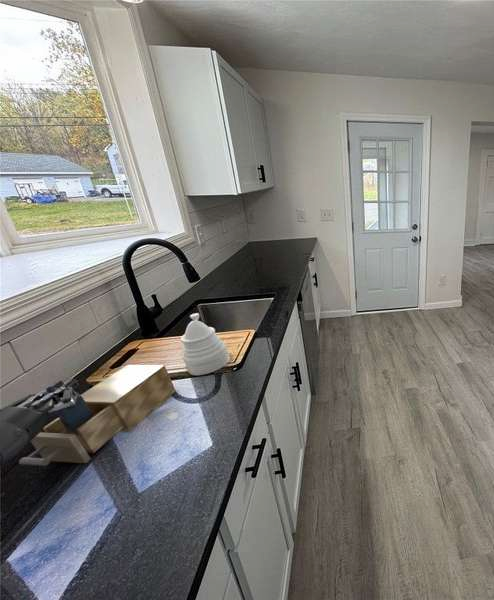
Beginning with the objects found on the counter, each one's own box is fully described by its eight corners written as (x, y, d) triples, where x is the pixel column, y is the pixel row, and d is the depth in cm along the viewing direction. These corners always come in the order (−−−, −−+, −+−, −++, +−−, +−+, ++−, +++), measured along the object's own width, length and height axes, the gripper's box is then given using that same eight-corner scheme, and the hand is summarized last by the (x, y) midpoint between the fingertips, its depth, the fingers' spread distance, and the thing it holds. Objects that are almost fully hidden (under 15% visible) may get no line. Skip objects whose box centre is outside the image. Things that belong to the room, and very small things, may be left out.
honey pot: (197, 356, 113) (179, 312, 106) (234, 350, 115) (219, 306, 108) (181, 378, 101) (160, 329, 94) (222, 371, 103) (205, 323, 96)
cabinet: (130, 431, 81) (113, 402, 77) (88, 429, 83) (71, 401, 79) (176, 391, 95) (164, 365, 92) (140, 390, 97) (127, 364, 93)
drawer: (64, 481, 68) (45, 455, 65) (21, 478, 69) (0, 453, 66) (140, 416, 85) (128, 393, 82) (104, 415, 86) (91, 392, 83)
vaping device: (63, 431, 73) (38, 390, 69) (88, 415, 78) (66, 376, 73) (71, 433, 73) (46, 392, 68) (96, 416, 78) (74, 377, 73)
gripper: (-32, 461, 59) (42, 401, 75) (53, 444, 61) (108, 389, 77) (-58, 431, 56) (25, 375, 72) (33, 414, 58) (94, 363, 74)
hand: (68, 382), depth 74 cm, fingers closed on vaping device, 2 cm apart
